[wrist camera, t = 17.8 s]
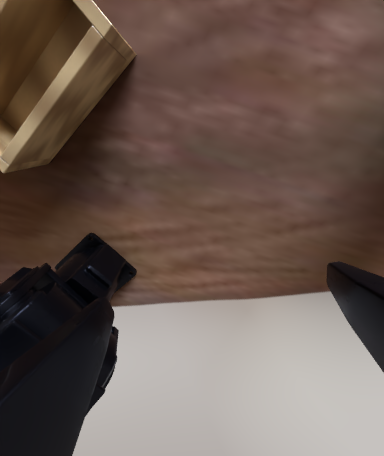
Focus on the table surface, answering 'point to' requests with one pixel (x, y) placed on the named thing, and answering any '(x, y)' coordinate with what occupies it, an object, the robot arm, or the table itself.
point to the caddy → (52, 74)
